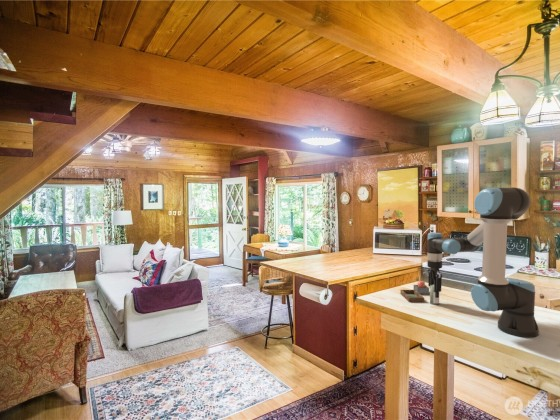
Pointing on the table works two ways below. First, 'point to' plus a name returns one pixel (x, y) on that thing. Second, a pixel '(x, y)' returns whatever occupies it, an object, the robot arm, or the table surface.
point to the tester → (421, 289)
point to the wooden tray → (412, 296)
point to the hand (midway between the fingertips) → (434, 301)
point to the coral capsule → (421, 284)
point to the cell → (432, 295)
